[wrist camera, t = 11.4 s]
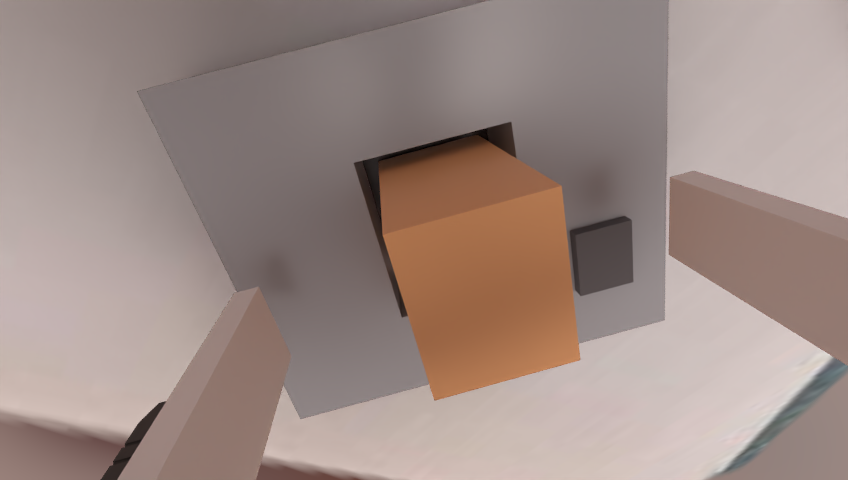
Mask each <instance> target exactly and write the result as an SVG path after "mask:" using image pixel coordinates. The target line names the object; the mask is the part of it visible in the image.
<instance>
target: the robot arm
mask: <svg viewBox="0 0 848 480" xmlns="http://www.w3.org/2000/svg"><path fill="white" fill-rule="evenodd" d="M669 255H670V256H672V257H674V258H675V259H677V260H678V261H680V262H682V263H683V264H685V265H686V266H688V267H690V268H691V269H693V270H694V271H696V272H698V273H699V274H701V275H703V276H704V277H706V278H707V279H709V280H711V281H712V282H714V283H715V284H717V285H719V286H720V287H722V288H723V289H725V290H727V291H728V292H730V293H732V294H733V295H735V296H736V297H738V298H740V299H741V300H743V301H744V302H746V303H748V304H749V305H751V306H752V307H754V308H756V309H757V310H759V311H761V312H762V313H764V314H765V315H767V316H769V317H770V318H772V319H773V320H775V321H777V322H778V323H780V324H781V325H783V326H785V327H786V328H788V329H789V330H791V331H793V332H794V333H796V334H798V335H799V336H801V337H802V338H804V339H806V340H807V341H809V342H810V343H812V344H814V345H815V346H817V347H818V348H820V349H822V350H823V351H825V352H827V353H828V354H830V355H831V356H833V357H835V358H836V359H838V360H839V361H841V362H843V363H844V364H846V365H847V366H848V219H847V218H844V217H841V216H838V215H835V214H831V213H828V212H825V211H822V210H818V209H815V208H812V207H809V206H806V205H802V204H799V203H796V202H793V201H790V200H786V199H783V198H780V197H777V196H773V195H770V194H767V193H764V192H761V191H757V190H754V189H751V188H748V187H744V186H741V185H738V184H735V183H732V182H728V181H725V180H722V179H719V178H715V177H712V176H709V175H706V174H703V173H699V172H696V171H691V172H687V173H684V174H680V175H676V176H672V177H670V216H669ZM290 359H291V354H290V352H289V350H288V348H287V346H286V343H285V341H284V339H283V337H282V335H281V333H280V331H279V329H278V326H277V324H276V322H275V320H274V318H273V316H272V314H271V312H270V309H269V307H268V305H267V303H266V301H265V299H264V297H263V295H262V292H261V290H260V288H259V287H255V288H251V289H248V290H244V291H240V292H236V293H234V294H233V296H232V298H231V299H230V301H229V302H228V304H227V306H226V307H225V309H224V310H223V312H222V314H221V315H220V317H219V318H218V320H217V321H216V323H215V325H214V326H213V328H212V329H211V331H210V333H209V334H208V336H207V337H206V339H205V341H204V342H203V344H202V345H201V347H200V349H199V350H198V352H197V353H196V355H195V357H194V358H193V360H192V361H191V363H190V365H189V366H188V368H187V369H186V371H185V372H184V374H183V376H182V377H181V379H180V380H179V382H178V384H177V385H176V387H175V388H174V390H173V392H172V393H171V395H170V396H169V398H168V400H167V401H165V402H161V403H159V404H158V405H157V406H156V407H155V408H154V409H152V410H151V411H150V412H149V413H148V414H147V415H146V416H145V417H144V418H143V419H142V420H141V421H140V422H139V423H138V425H137V426H136V428H135V429H134V431H133V432H132V434H131V435H130V437H129V438H128V440H127V441H126V443H125V447H124V448H122V449H121V450H120V452H119V453H118V455H117V456H116V458H115V459H114V461H113V465H112V466H110V467H109V468H108V470H107V471H106V473H105V474H104V476H103V477H102V479H101V480H256V477H257V474H258V470H259V467H260V463H261V460H262V457H263V453H264V450H265V446H266V443H267V439H268V436H269V432H270V429H271V425H272V422H273V418H274V415H275V411H276V408H277V404H278V401H279V398H280V394H281V391H282V387H283V384H284V380H285V377H286V373H287V370H288V366H289V363H290Z"/></svg>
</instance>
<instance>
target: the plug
mask: <svg viewBox="0 0 848 480" xmlns="http://www.w3.org/2000/svg"><path fill="white" fill-rule="evenodd" d="M378 163H379V181H380V198H381V216H382V234H383V238H384V241H385V244H386V247H387V251H388V254H389V257H390V260H391V263H392V267H393V270H394V273H395V276H396V279H397V283H398V286H399V289H400V292H401V295H402V298H403V302H404V305H405V308H406V311H407V314H408V318H409V321H410V324H411V327H412V330H413V334H414V337H415V340H416V343H417V346H418V349H419V353H420V356H421V359H422V362H423V365H424V369H425V372H426V375H427V378H428V381H429V385H430V388H431V391H432V394H433V397H434V400H439V399H442V398H446V397H449V396H453V395H457V394H460V393H464V392H467V391H471V390H474V389H478V388H482V387H485V386H489V385H492V384H496V383H500V382H503V381H507V380H510V379H514V378H518V377H521V376H525V375H528V374H532V373H535V372H539V371H543V370H546V369H550V368H553V367H557V366H561V365H564V364H568V363H571V362H575V361H579V360H580V353H579V343H578V334H577V325H576V315H575V306H574V297H573V287H572V278H571V269H570V259H569V250H568V240H567V231H566V222H565V212H564V203H563V194H562V186H561V185H559V184H558V183H556V182H554V181H553V180H551V179H550V178H548V177H546V176H545V175H543V174H541V173H540V172H538V171H536V170H535V169H533V168H531V167H530V166H528V165H526V164H525V163H523V162H521V161H520V160H518V159H516V158H515V157H513V156H511V155H510V154H508V153H507V152H505V151H503V150H502V149H500V148H498V147H497V146H495V145H493V144H492V143H490V142H488V141H487V140H485V139H483V138H482V137H480V136H478V135H474V136H470V137H466V138H462V139H459V140H455V141H451V142H448V143H444V144H440V145H437V146H433V147H429V148H426V149H422V150H418V151H415V152H411V153H407V154H403V155H400V156H396V157H392V158H389V159H385V160H381V161H378Z"/></svg>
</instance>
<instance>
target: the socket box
mask: <svg viewBox="0 0 848 480" xmlns="http://www.w3.org/2000/svg"><path fill="white" fill-rule="evenodd" d="M668 1H669V0H488V1H484V2H480V3H476V4H473V5H469V6H465V7H461V8H457V9H453V10H449V11H445V12H442V13H438V14H434V15H430V16H426V17H422V18H418V19H414V20H411V21H407V22H403V23H399V24H395V25H391V26H387V27H383V28H380V29H376V30H372V31H368V32H364V33H360V34H356V35H352V36H349V37H345V38H341V39H337V40H333V41H329V42H325V43H322V44H318V45H314V46H310V47H306V48H302V49H298V50H294V51H291V52H287V53H283V54H279V55H275V56H271V57H267V58H263V59H260V60H256V61H252V62H248V63H244V64H240V65H236V66H232V67H229V68H225V69H221V70H217V71H213V72H209V73H205V74H201V75H198V76H194V77H190V78H186V79H182V80H178V81H174V82H170V83H167V84H163V85H159V86H155V87H151V88H147V89H143V90H140V91H137V92H138V94H139V96H140V98H141V100H142V102H143V104H144V106H145V108H146V110H147V112H148V114H149V116H150V118H151V120H152V122H153V124H154V126H155V128H156V130H157V133H158V135H159V137H160V139H161V141H162V143H163V145H164V147H165V149H166V151H167V153H168V155H169V157H170V159H171V161H172V163H173V165H174V167H175V169H176V171H177V173H178V175H179V177H180V179H181V181H182V183H183V185H184V187H185V189H186V191H187V193H188V195H189V197H190V199H191V201H192V203H193V205H194V207H195V209H196V211H197V213H198V215H199V217H200V219H201V221H202V223H203V225H204V227H205V229H206V231H207V233H208V235H209V237H210V239H211V241H212V243H213V245H214V247H215V249H216V251H217V253H218V255H219V257H220V259H221V261H222V263H223V265H224V267H225V269H226V271H227V273H228V275H229V277H230V279H231V281H232V283H233V285H234V287H235V289H236V291H237V292H240V291H244V290H248V289H251V288H255V287H259V288H260V290H261V292H262V295H263V297H264V299H265V301H266V303H267V305H268V307H269V309H270V312H271V314H272V316H273V318H274V320H275V322H276V324H277V326H278V329H279V331H280V333H281V335H282V337H283V339H284V341H285V343H286V346H287V348H288V350H289V352H290V354H291V359H290V363H289V366H288V370H287V373H286V377H285V380H284V384H283V385H284V387H285V389H286V391H287V393H288V395H289V397H290V399H291V401H292V403H293V405H294V407H295V409H296V411H297V413H298V415H299V417H300V419H303V418H306V417H310V416H314V415H317V414H321V413H325V412H329V411H332V410H336V409H340V408H343V407H347V406H351V405H354V404H358V403H362V402H365V401H369V400H373V399H376V398H380V397H384V396H387V395H391V394H395V393H398V392H402V391H406V390H410V389H413V388H417V387H421V386H424V385H428V384H429V381H428V378H427V375H426V372H425V369H424V365H423V362H422V359H421V356H420V353H419V349H418V346H417V343H416V340H415V337H414V334H413V330H412V327H411V324H410V321H409V318H408V314H407V311H406V308H405V305H404V302H403V298H402V295H401V292H400V289H399V286H398V283H397V279H396V276H395V273H394V270H393V267H392V263H391V260H390V257H389V254H388V251H387V247H386V244H385V241H384V238H383V234H382V224H381V221H380V218H379V214H378V211H377V208H376V205H375V201H374V198H373V195H372V191H371V188H370V185H369V181H368V178H367V175H366V171H365V168H364V165H363V162H362V161H363V160H367V159H371V158H375V157H378V156H382V155H386V154H390V153H394V152H397V151H401V150H405V149H409V148H413V147H416V146H420V145H424V144H428V143H432V142H435V141H439V140H443V139H447V138H451V137H454V136H458V135H462V134H466V133H470V132H473V131H477V130H481V129H485V128H487V133H488V139H489V142H490V143H492V144H493V145H495V146H497V147H498V148H500V149H502V150H503V151H505V152H507V153H508V154H510V155H511V156H513V157H515V158H516V159H518V160H520V161H521V162H523V163H525V164H526V165H528V166H530V167H531V168H533V169H535V170H536V171H538V172H540V173H541V174H543V175H545V176H546V177H548V178H550V179H551V180H553V181H554V182H556V183H558V184H559V185H561V186H562V194H563V203H564V212H565V222H566V231H567V240H568V250H569V259H570V269H571V278H572V287H573V297H574V306H575V315H576V325H577V334H578V343H583V342H586V341H590V340H594V339H597V338H601V337H605V336H608V335H612V334H616V333H619V332H623V331H627V330H630V329H634V328H638V327H641V326H645V325H649V324H652V323H656V322H660V321H663V320H665V246H666V164H667V83H668Z"/></svg>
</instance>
